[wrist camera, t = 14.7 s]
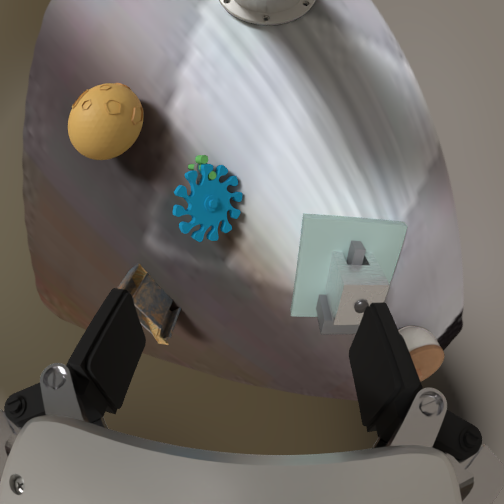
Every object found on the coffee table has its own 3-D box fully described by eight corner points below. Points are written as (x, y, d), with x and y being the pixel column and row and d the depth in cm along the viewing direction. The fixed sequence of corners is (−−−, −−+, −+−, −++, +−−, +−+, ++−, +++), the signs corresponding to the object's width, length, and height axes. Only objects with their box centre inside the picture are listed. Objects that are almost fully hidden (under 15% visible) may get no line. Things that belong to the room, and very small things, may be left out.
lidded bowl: (379, 324, 49) (394, 369, 39) (433, 309, 46) (455, 348, 37) (375, 361, 55) (386, 400, 45) (424, 347, 53) (439, 383, 43)
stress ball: (132, 156, 36) (162, 144, 29) (69, 172, 30) (80, 162, 23) (124, 93, 32) (152, 67, 25) (61, 104, 26) (71, 75, 19)
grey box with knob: (332, 251, 39) (344, 286, 32) (372, 252, 39) (390, 286, 32) (324, 289, 43) (333, 326, 36) (362, 289, 43) (375, 325, 35)
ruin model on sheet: (183, 306, 49) (169, 346, 41) (172, 311, 50) (157, 350, 42) (141, 260, 44) (117, 297, 36) (130, 268, 45) (106, 304, 37)
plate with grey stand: (303, 213, 38) (310, 239, 32) (403, 222, 38) (425, 246, 31) (290, 310, 47) (292, 342, 41) (375, 311, 47) (386, 340, 40)
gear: (247, 232, 38) (183, 253, 32) (222, 224, 42) (163, 241, 37) (243, 151, 34) (172, 159, 28) (217, 152, 38) (153, 160, 32)
